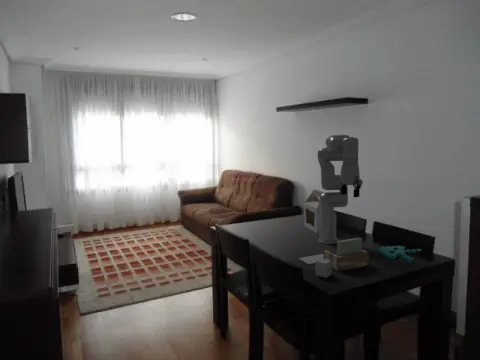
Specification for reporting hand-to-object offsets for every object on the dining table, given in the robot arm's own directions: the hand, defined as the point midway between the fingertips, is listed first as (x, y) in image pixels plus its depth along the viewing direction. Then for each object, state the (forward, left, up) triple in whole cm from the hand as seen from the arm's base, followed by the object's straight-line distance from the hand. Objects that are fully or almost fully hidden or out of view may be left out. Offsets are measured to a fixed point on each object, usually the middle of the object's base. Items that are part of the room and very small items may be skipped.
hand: (350, 195), depth 188 cm
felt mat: (-16, -10, -37) cm, 42 cm away
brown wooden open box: (-3, 0, -37) cm, 37 cm away
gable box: (-70, +28, -38) cm, 84 cm away
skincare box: (+4, -19, -38) cm, 42 cm away
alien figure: (-3, +36, -38) cm, 52 cm away
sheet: (0, 0, -37) cm, 37 cm away
